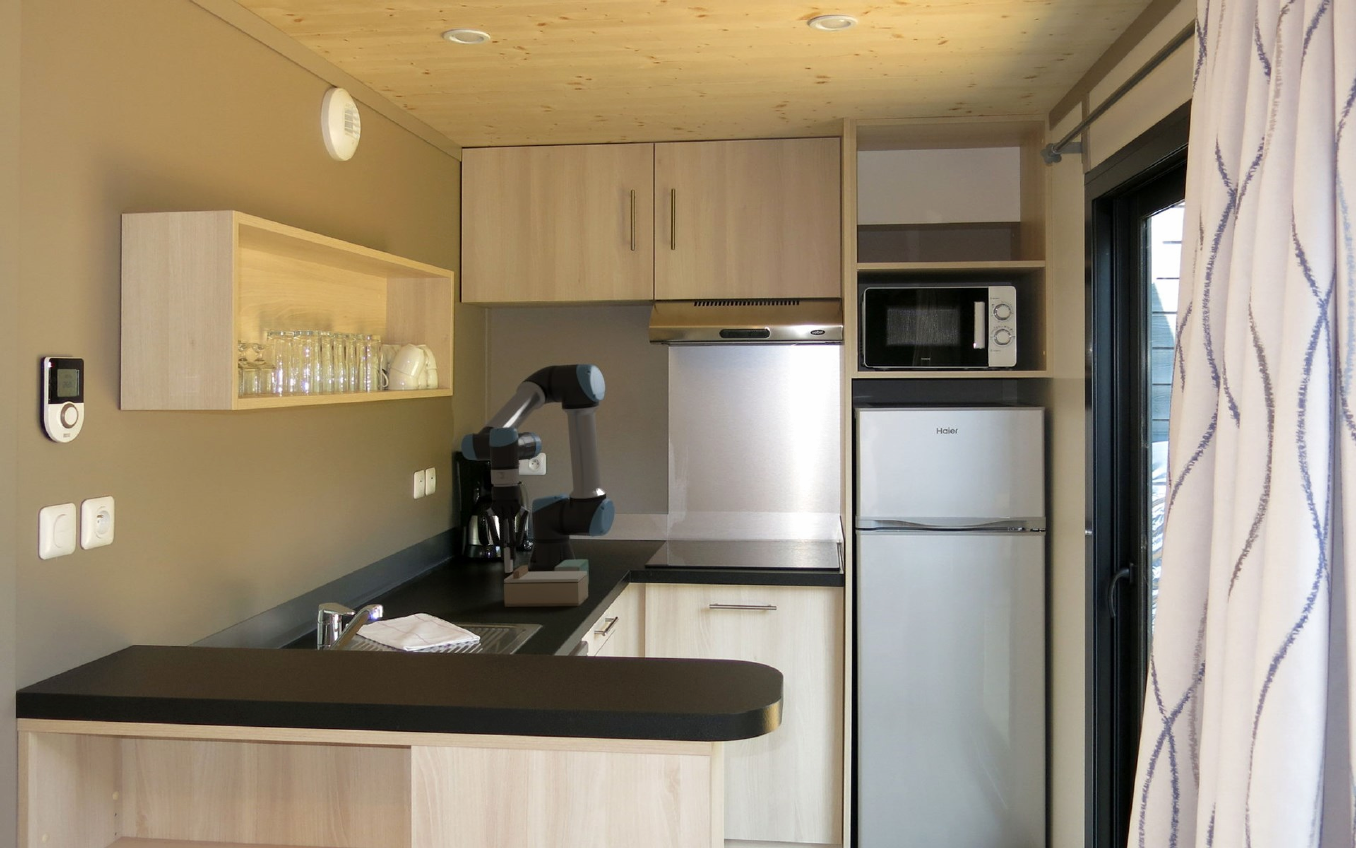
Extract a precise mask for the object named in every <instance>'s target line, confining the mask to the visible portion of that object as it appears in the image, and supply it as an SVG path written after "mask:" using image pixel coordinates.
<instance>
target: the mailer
mask: <svg viewBox="0 0 1356 848" xmlns="http://www.w3.org/2000/svg"><path fill="white" fill-rule="evenodd" d="M503 591H504V592H503V593H504V596H503V597H504V607H510V608H511V607H517V608H518V607H579V606H581V605H582V604H583V603H584V601H585V600H586V599H588V597H589V584H588V577H587V575H585V576H584V577H583V578H582V579H581V580H580V581H579V582H522V583H504V584H503Z"/></svg>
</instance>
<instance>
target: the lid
mask: <svg viewBox="0 0 1356 848" xmlns="http://www.w3.org/2000/svg"><path fill="white" fill-rule="evenodd" d="M586 574H587V571H529V564H526V565H525V564H524V565H523V564H522V565H520V566H518V568H516V569H513V571H512V574H510V575H509V576H507V577H506V578H504V579H503V580H504V581H503V583H504V584H505V583H522V582H579V581H580V580H581V579H582V578H583V577H584V576H585V575H586Z"/></svg>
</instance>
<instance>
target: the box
mask: <svg viewBox="0 0 1356 848" xmlns="http://www.w3.org/2000/svg"><path fill="white" fill-rule="evenodd" d="M554 571H587V574H586V575H587V577H588V585H589V584H590V576H589V575H590V574H589V559H583V558H581V559H579V558H577V559H574V560H564V561H563V562H562V563H560V564H559V565H557V566H556V567H555V568H554Z"/></svg>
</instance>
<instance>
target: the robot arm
mask: <svg viewBox="0 0 1356 848" xmlns="http://www.w3.org/2000/svg"><path fill="white" fill-rule="evenodd" d="M605 393H606V383H605V379H604V376H603V373H602V371H600V369H599V367H598V366H596V365H594V364H591V363H589V364H587V363H576V364H574V363H573V364H561V365H557V364H555V365H548V366H545V367H542V368H540V369H538V370H537V371H534V372H533V373H532V374H529V376H527V377H526V378H525V379H524V380H523V381H522V382H521V383H520V384H519V385H518V386H517V388H516V393H515V394H514V395H512V397H511V398H510V399H509V400H508V401H507V402H506V403H505V404H504V405H503V406H502V408H500V409H499V410H498V411H497V412H496V414H494V416H493V417H492V418H490V420H489V421H488V422H487V423H486V424H485V425H484V427H482V429H481V430H479V432H477V433H475V432H473V433H467V434H466V435H464V436H463V438H462V440H461V444H460V448H461V452H462V455H463V457H464V458H465V459H467V460H471V461H478V462H479V461H490V479H491V480H490V481H491V482H490V483H491V484H492V485H493V486H491V504H490V507H489V508H488V509H487V510H485V511H482V515H483V517H484V518H485V520H486V522H487V527H488V530H489V534H490V537H491V541H492V544H493V546H494V547H498V548H499V549H500V559H501V561H504V573H507V574H509V573H510V574H511V573H513V571H514V560H516V559H517V548H516V547H518V546H521V545H522V544H523V540H524V535H525V532H526V525H527V520H528V517H529V515H530V514H531V517H532V518H531V519H532V521H531V522H532V538H533V539H532V541H533V544H532V548H531V552H530V555H529V559H528V570H530V571H532V572H546V571H554V568H555V567H556V566H557V565H559V564H560V563H562V562H563V561H564V560H574V559H576V556H575V553H574V551H573V550H574V549H573V547H572V545H571V541H570V539H571V537H570V536H577V537H579V536H582V537H593V538H594V537H599V536H600V537H603V536H605V535H606V534H608V533H609V532H610V530H611V529H612V526H613V524H614V519H615V504H614V501H613V500H612V499H610V498H607V491H606V490H604V488H602V485H601V484H602V483H601V473H600V463H599V462H600V460H599V450H598V436H597V425H596V424H597V422H596V411H597V410H598V409H599V408H600V402H601V401H603V400H604V398H605ZM551 403H561V410H562V411H563V412H565V414H566V415H567V426H568V438H569V452H570V461H571V462H570V463H571V476H572V487H573V489H572V491H571V492H570V493H569V495H568V493H560V494H554V495H553V494H552V495H548V496H542V497H537V498H535V499H534V500H533V501H532V502H531V503H532V504H531V510H530V509H527V508H526V507H524V506H523V504H522V501H521V487H520V485H519V483H520V464H519V461H524V460H525V461H526V460H531V459H535V458H536V457H538V456H539V455H540V454H541V452H542V449H543V448H542V447H543V444H542V443H543V442H542V440H541V438H540V437H539V435H538V434H536V433H534V432H529V431H524V432H518V429H519V428H520V426H522V425H523V424H524V422H525V421H526V420H527V419H528V418H529V417H530V415H531V414H533V412H534V411H536V410H539V409H541V408H543V406H544V405H546V404H551ZM494 515H495V516H496V517H497V518H498V519H497V520H498V530H497V526H496V522H495V519H494ZM518 515H520V516H521V517H520V519H519V524H518V529H517V534H516V518H517V516H518ZM507 526H508V541H507ZM507 542H508V543H507Z"/></svg>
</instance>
